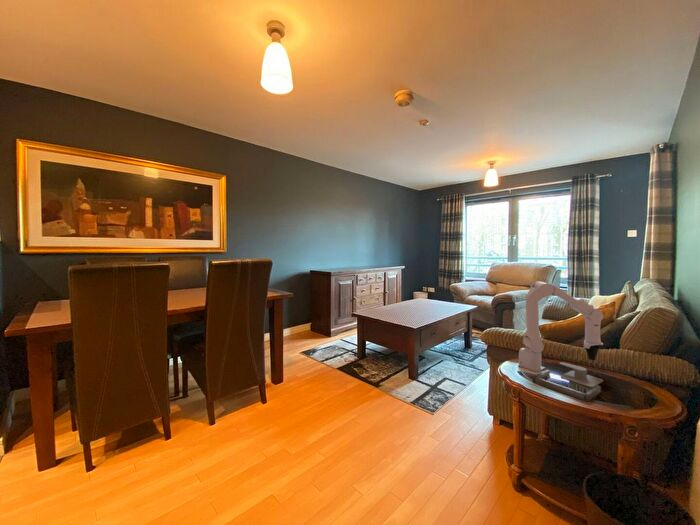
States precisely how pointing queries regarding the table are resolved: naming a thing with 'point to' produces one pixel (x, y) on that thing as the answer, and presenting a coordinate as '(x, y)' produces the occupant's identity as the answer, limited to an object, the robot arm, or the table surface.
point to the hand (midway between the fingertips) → (592, 359)
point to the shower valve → (580, 376)
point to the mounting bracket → (583, 396)
